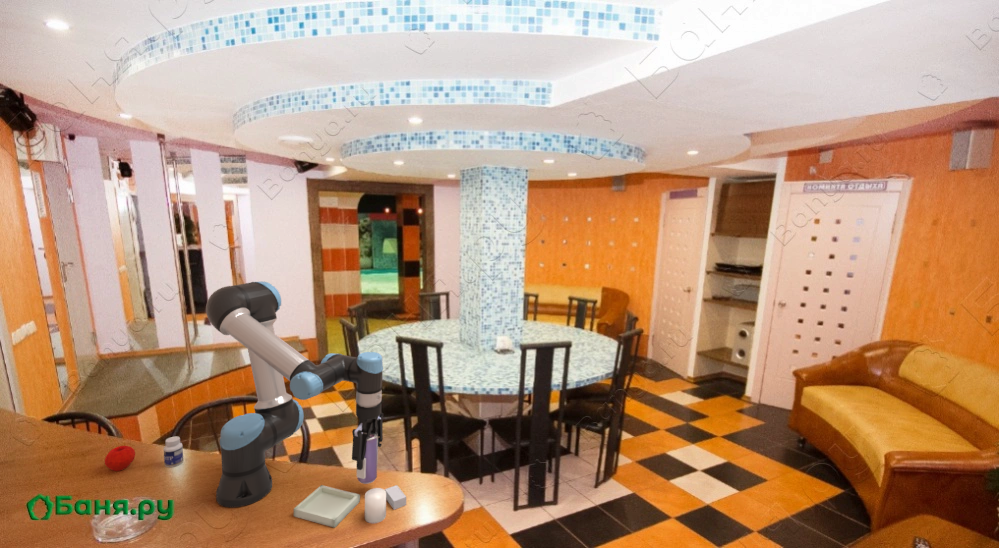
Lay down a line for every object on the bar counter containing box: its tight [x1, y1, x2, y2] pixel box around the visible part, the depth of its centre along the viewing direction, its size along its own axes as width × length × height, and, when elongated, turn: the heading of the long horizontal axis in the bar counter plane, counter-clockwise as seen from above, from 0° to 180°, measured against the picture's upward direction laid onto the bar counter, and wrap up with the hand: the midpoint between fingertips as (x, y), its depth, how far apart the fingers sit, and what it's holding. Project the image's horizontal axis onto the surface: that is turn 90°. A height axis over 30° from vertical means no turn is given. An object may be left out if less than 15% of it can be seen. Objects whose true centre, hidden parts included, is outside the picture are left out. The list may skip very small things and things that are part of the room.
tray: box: [293, 484, 361, 529], centre depth 131 cm, size 14×12×2 cm
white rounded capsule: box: [364, 487, 387, 524], centre depth 128 cm, size 6×6×7 cm
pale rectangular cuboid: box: [384, 484, 407, 510], centre depth 136 cm, size 7×4×3 cm, turn 37°
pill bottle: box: [163, 435, 184, 468], centre depth 150 cm, size 5×5×9 cm
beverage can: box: [356, 432, 379, 485], centre depth 138 cm, size 6×6×15 cm
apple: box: [104, 445, 136, 472], centre depth 146 cm, size 8×8×7 cm
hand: (367, 471), depth 139 cm, fingers closed on beverage can, 6 cm apart
